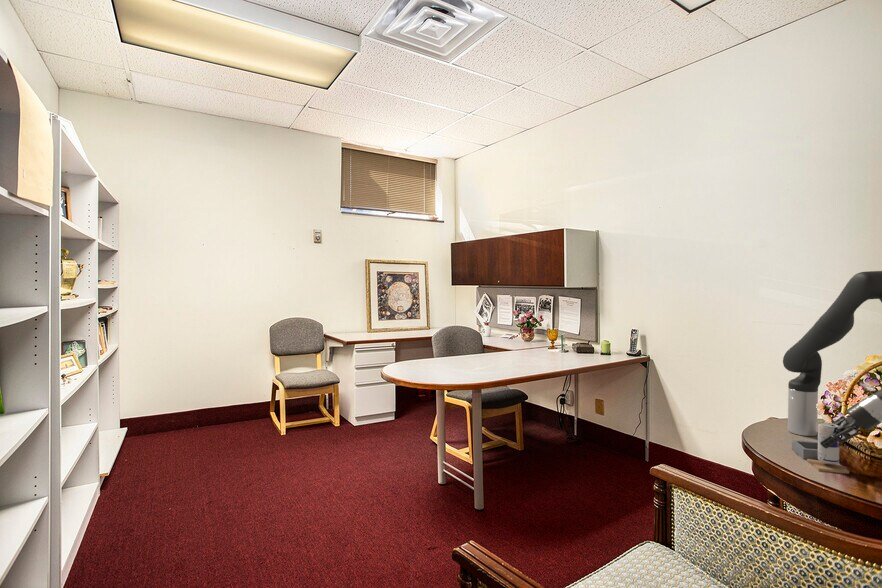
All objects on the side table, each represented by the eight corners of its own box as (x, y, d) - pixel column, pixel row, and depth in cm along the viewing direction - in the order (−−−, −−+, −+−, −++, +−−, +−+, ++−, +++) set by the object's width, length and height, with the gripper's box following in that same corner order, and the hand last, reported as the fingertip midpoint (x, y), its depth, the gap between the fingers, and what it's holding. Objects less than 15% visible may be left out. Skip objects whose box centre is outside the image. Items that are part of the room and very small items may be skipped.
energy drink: (843, 464, 148) (843, 427, 147) (825, 464, 148) (826, 427, 148) (830, 457, 153) (830, 422, 153) (813, 457, 154) (813, 422, 153)
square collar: (791, 449, 166) (791, 440, 166) (821, 452, 163) (821, 442, 163) (803, 459, 157) (803, 449, 157) (835, 462, 155) (835, 451, 155)
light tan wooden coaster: (807, 461, 156) (807, 458, 156) (835, 463, 154) (835, 461, 154) (818, 470, 148) (818, 468, 148) (849, 473, 146) (849, 471, 146)
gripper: (854, 397, 152) (807, 427, 159) (865, 408, 140) (814, 440, 147) (875, 415, 149) (827, 445, 156) (888, 428, 137) (835, 460, 144)
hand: (821, 442), depth 151 cm, fingers closed on energy drink, 5 cm apart
